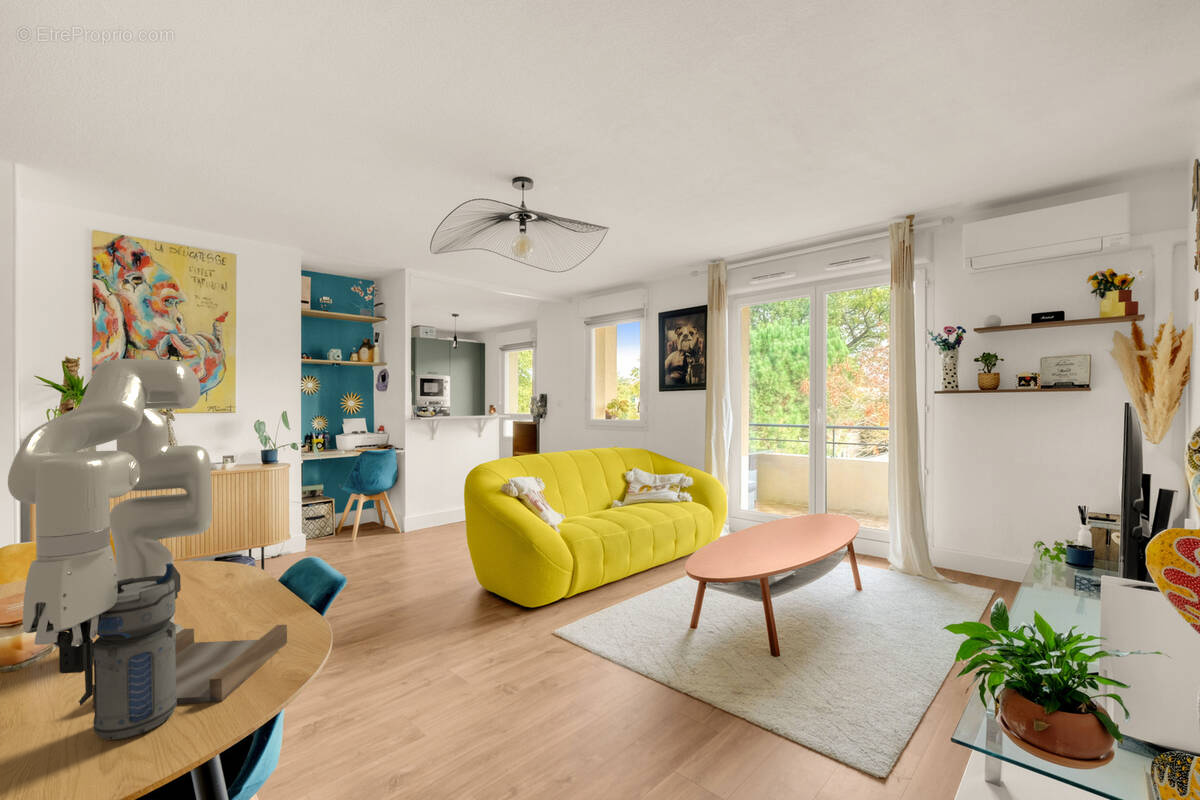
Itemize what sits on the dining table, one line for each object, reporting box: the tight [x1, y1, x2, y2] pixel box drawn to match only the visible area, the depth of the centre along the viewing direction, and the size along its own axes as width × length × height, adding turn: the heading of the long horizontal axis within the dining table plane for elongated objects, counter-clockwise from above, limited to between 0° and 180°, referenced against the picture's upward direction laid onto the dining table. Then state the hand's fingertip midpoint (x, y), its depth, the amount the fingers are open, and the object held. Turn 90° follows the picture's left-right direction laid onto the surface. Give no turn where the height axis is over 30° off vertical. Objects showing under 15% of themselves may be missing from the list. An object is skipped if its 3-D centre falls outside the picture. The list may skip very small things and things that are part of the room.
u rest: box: [92, 624, 288, 709], centre depth 102 cm, size 21×22×4 cm
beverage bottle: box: [78, 563, 182, 741], centre depth 85 cm, size 10×13×25 cm
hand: (76, 669), depth 76 cm, fingers closed
